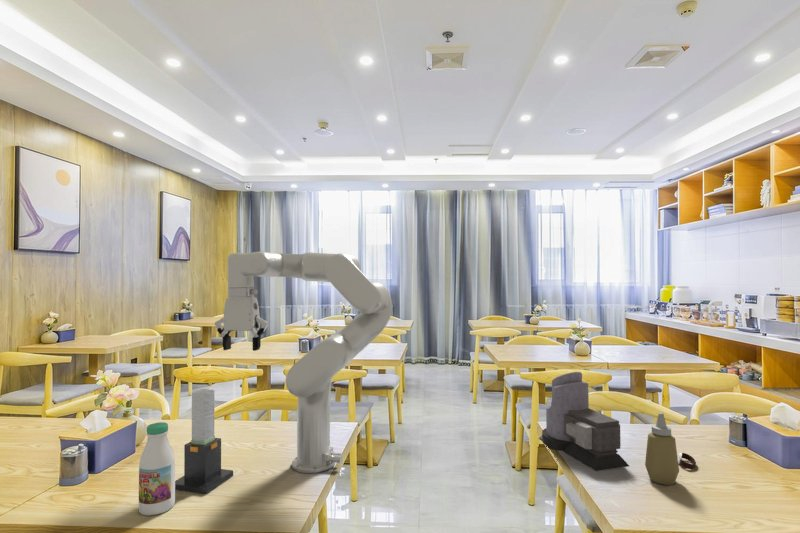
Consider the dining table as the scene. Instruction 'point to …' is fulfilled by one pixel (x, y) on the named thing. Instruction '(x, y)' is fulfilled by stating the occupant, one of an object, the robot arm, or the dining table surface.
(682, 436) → the dining table surface
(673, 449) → the squeeze bottle
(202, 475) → the stand base
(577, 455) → the grey blocky piece
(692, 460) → the watch
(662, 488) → the dining table surface
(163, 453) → the milk bottle
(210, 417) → the stand column
